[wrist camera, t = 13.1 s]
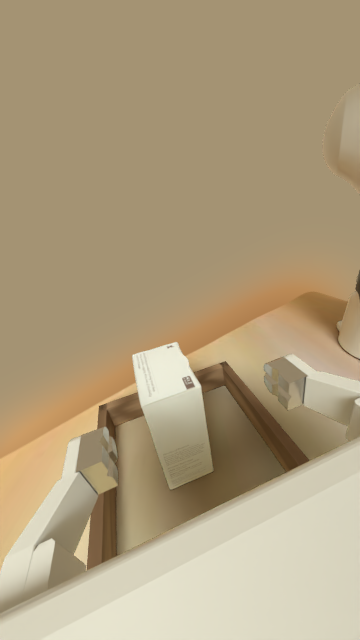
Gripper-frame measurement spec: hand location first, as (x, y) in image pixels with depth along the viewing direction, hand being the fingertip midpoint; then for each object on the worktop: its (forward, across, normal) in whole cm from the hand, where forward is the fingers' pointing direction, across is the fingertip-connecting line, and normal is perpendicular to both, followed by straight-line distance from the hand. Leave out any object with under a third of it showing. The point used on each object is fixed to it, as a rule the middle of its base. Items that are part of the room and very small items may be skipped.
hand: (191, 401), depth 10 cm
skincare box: (+10, +1, +20) cm, 23 cm away
